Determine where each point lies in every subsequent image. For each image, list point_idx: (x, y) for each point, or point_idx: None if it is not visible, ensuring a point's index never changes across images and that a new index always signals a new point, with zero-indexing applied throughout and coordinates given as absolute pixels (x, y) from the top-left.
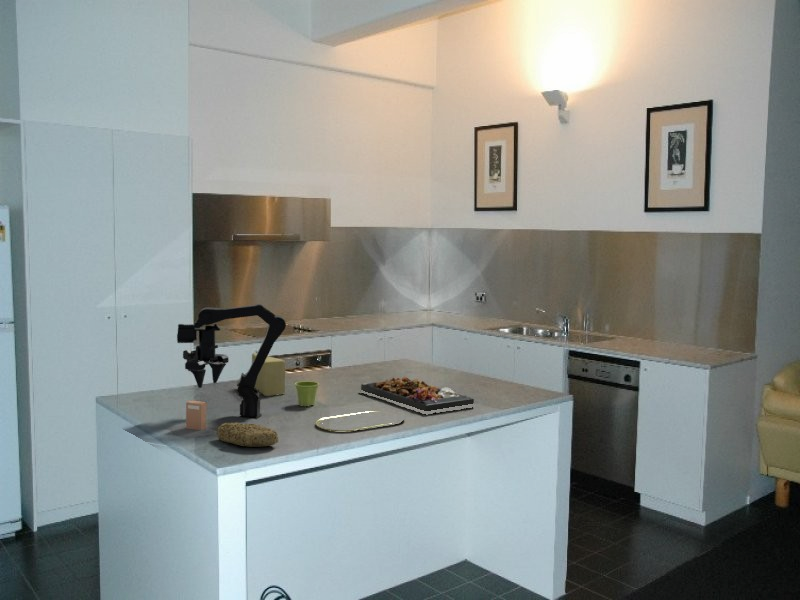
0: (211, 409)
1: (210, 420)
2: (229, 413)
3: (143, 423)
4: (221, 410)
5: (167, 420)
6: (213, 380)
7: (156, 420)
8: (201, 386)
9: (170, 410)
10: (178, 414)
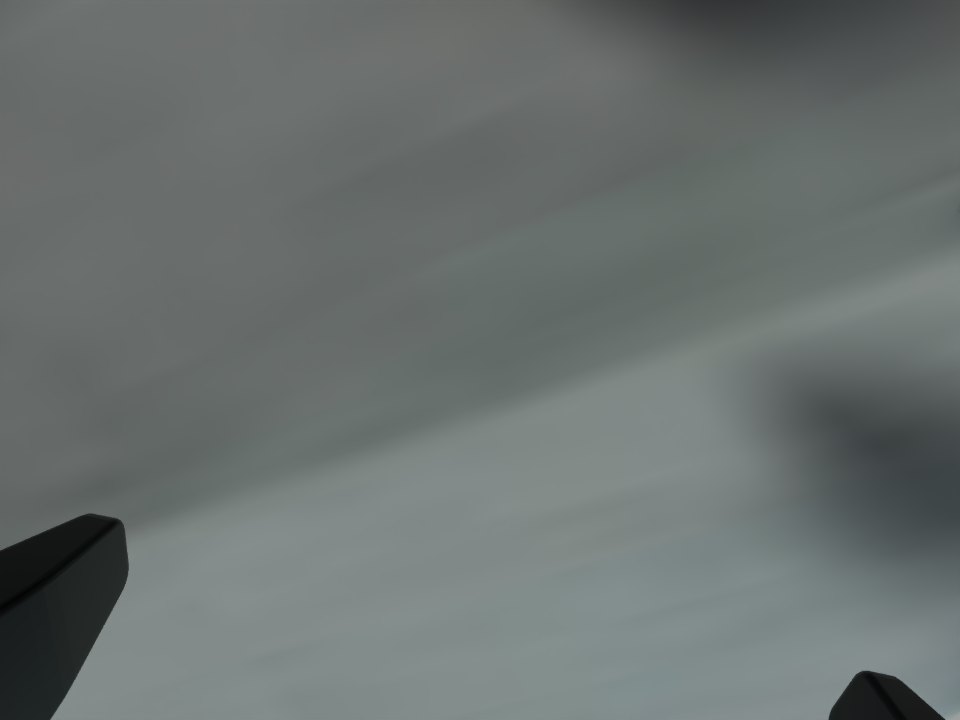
0: (120, 347)
1: (686, 126)
2: (177, 16)
3: None
4: (91, 209)
5: (774, 585)
6: (89, 638)
7: (789, 663)
8: (911, 701)
9: (365, 669)
10: (489, 572)
